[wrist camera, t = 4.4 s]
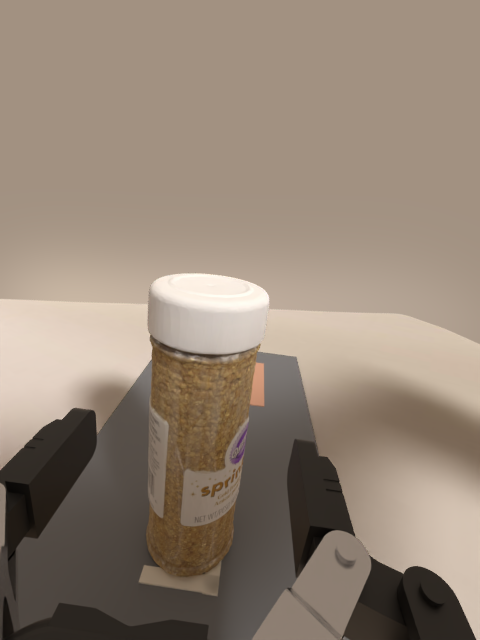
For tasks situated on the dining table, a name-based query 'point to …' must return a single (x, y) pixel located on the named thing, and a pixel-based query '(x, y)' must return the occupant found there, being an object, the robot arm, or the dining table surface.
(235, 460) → the sprinkles bottle
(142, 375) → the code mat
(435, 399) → the dining table surface
